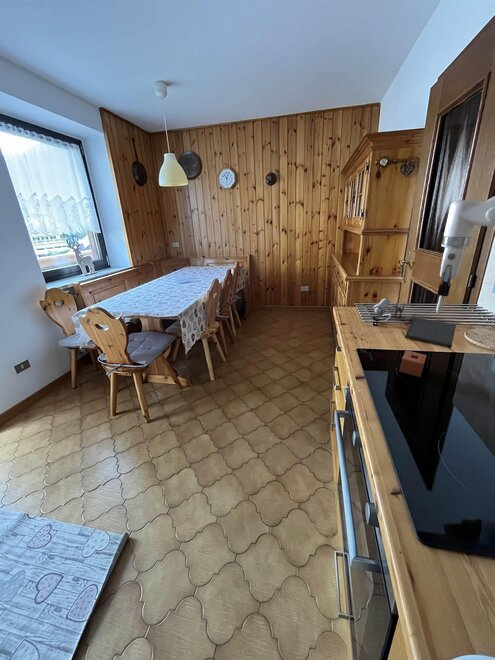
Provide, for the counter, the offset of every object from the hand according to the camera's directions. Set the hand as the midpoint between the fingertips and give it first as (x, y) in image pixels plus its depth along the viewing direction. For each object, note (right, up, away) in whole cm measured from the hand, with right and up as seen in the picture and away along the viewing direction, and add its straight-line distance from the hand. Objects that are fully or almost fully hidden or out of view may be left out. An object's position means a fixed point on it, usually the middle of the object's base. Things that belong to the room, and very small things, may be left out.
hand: (442, 294), depth 101 cm
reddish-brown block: (-16, -26, -9) cm, 32 cm away
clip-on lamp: (-7, -7, +28) cm, 30 cm away
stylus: (0, -7, +3) cm, 8 cm away
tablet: (+4, -14, +13) cm, 19 cm away
